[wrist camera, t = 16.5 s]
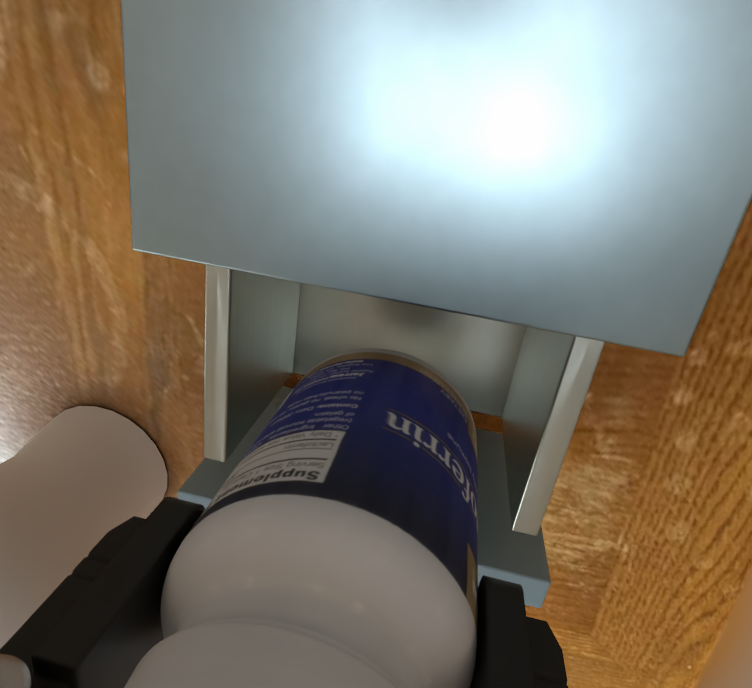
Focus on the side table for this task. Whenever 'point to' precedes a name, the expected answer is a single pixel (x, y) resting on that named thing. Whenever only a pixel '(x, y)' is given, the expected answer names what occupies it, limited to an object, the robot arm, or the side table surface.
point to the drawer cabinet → (451, 151)
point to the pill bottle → (335, 543)
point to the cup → (69, 502)
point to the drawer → (426, 342)
